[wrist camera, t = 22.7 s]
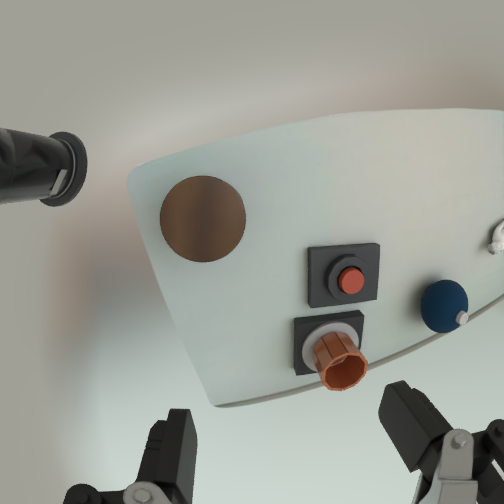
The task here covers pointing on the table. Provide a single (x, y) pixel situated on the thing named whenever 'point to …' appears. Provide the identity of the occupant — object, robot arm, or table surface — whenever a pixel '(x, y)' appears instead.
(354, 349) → the orange wooden cup
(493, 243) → the figurine
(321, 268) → the red push button box
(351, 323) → the scale
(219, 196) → the stand
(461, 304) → the christmas ornament
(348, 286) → the button
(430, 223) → the table surface
